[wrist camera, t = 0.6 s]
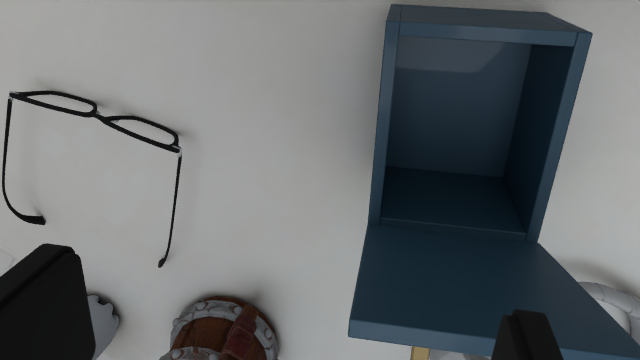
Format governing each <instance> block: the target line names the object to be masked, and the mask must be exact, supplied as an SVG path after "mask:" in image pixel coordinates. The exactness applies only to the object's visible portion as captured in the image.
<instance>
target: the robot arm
mask: <svg viewBox="0 0 640 360" xmlns="http://www.w3.org/2000/svg"><path fill="white" fill-rule="evenodd" d="M95 350H96V341H95V336H94V330H93V325H92V319H91V314H90V308H89V303H88V297H87V292H86V286H85V281H84V275H83V269H82V264H81V259H80V257H79V255H77V254H75V252H74V250H73V249H72V248H71V247H69V246H62V245H54V244H42V245H41V246H39V247H38V248H36V249H35V250H34V251H33V252H31V253H30V254H29V255H28V256H26V257H25V258H24V259H22V260H21V261H20V262H19V263H17V264H16V265H15V266H14V267H12V268H11V269H10V270H9V271H7V272H6V273H5V274H3V275H2V276H1V277H0V360H92V358H93V356H94V354H95ZM491 360H564V359H563V356H562V354H561V351H560V349H559V346H558V344H557V341H556V339H555V336H554V333H553V331H552V328H551V326H550V323H549V321H548V318H547V316H546V314H544V313H542V312H535V311H528V310H521V309H514V310H513V312H512V314H511V315H503V317H502V319H501V323H500V326H499V330H498V334H497V338H496V342H495V345H494V349H493V353H492V357H491Z"/></svg>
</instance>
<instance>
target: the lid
mask: <svg viewBox="0 0 640 360" xmlns="http://www.w3.org/2000/svg"><path fill="white" fill-rule="evenodd" d="M514 309H521V310H528V311H535V312H542V313H544V314H546V316H547V318H548V321H549V323H550V326H551V328H552V331H553V333H554V336H555V339H556V341H557V344H558V346H559V349H560V351H561V354H562V356H563V359H564V360H640V345H639V344H638V343H637V342H636V341H635V340H634V339H633V338H632V337H631V336H630V335H629V334H628V333H627V332H626V331H625V330H624V329H623V328H622V327H621V326H620V325H619V324H618V323H617V322H616V321H615V320H614V319H613V318H612V317H611V316H610V315H609V314H608V313H607V312H606V311H605V310H604V309H603V308H602V307H601V306H600V304H599V303H598V302H597V301H596V300H595V299H594V298H593V297H592V296H591V295H590V294H589V293H588V292H587V291H586V290H585V289H584V288H583V287H582V286H581V285H580V284H579V283H578V282H577V281H576V280H575V279H574V278H573V277H572V276H571V275H570V274H569V273H568V272H567V271H566V270H565V269H564V268H563V267H562V266H561V265H560V264H559V263H558V262H557V261H556V260H555V259H554V258H553V257H552V256H551V255H550V254H549V253H548V252H547V251H546V250H545V249H544V248H543V247H542V246H541V245H540V244H539V243H530V242H521V241H512V240H503V239H494V238H485V237H477V236H468V235H459V234H450V233H441V232H432V231H423V230H414V229H405V228H397V227H388V226H379V225H370V224H368V225H367V230H366V235H365V241H364V246H363V251H362V256H361V262H360V267H359V272H358V277H357V283H356V288H355V293H354V298H353V304H352V309H351V314H350V319H349V329H348V337H352V338H359V339H366V340H373V341H380V342H387V343H394V344H401V345H408V346H412V351H411V359H410V360H428V359H429V351H430V349H437V350H444V351H451V352H458V353H465V354H472V355H479V356H486V357H492V353H493V349H494V345H495V342H496V338H497V334H498V330H499V326H500V323H501V319H502V317H503V315H511V314H512V312H513V310H514Z"/></svg>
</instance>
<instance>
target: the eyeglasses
mask: <svg viewBox="0 0 640 360" xmlns="http://www.w3.org/2000/svg"><path fill="white" fill-rule="evenodd" d="M49 94H51V95H58V96H63V97H67V98H71V99H75V100H78V101H82V102H85V103H88V104H90V105H92V106H93V110H92V111H90V112H79V111H75V110H70V109H66V108H62V107H58V106H54V105H50V104H46V103H43V102H40V101H36V100H33V99H30V98H27V97H28V96H34V95H49ZM13 98H15V99H18V100H21V101H24V102H28V103H31V104H34V105H38V106H41V107H45V108H49V109H52V110H56V111H61V112H65V113H69V114H73V115H77V116H82V117H95V118H97V119H99V120H100V121H102V122H103V123H104V124H106V125H108V126H110V127H112V128H114V129H116V130H118V131H120V132H123V133H125V134H127V135H129V136H131V137H134V138H136V139H139V140H141V141H144V142H147V143H149V144H152V145H154V146H157V147H160V148H163V149H166V150H169V151H171V152H174V153H179V152H180V154H179V155H178V157H179V158H178V167H177V176H176V186H175V195H174V204H173V212H172V221H171V229H170V237H169V242H168V248H167V251H166V255H165V258H164V259H161V260H160V261H159V263H158V267H159V268H160V267H162V266H163V264H164V263H165V261H166V258H167V256H168V252H169V248H170V243H171V237H172V230H173V223H174V215H175V207H176V199H177V191H178V183H179V175H180V167H181V159H182V149H181V147H179V146H178V142H179V139H178V135H177V133H175V132H174V131H172V130H170V129H168V128H166V127H163V126H161V125H159V124H156V123H154V122H151V121H149V120H146V119H143V118H139V117H135V116H109V117H104V116H101V115H100V112H99V111H97V105H96V104H95V103H94V102H92V101H89V100H86V99H83V98H80V97H77V96H73V95H69V94H65V93H61V92H56V91H32V92H13V91H10V93H9V96H8V106H7V118H6V129H5V142H4V155H3V170H2V190H3V195H4V198H5V201H6V203H7V205H8V207H9V209H10V210H11V211H12V212H13V213H14V214H15V215H16V216H17V217H19V218H20V219H22V220H23V221H25V222H28V223H32V224H39V225H45V221H44V219H43V217H41V216H26V215H22V214H20V213H18V212H17V211H16V210H15V209H14V208H13V207H12V206H11V205H10V203H9V201H8V199H7V196H6V193H5V165H6V154H7V145H8V136H9V126H10V117H11V108H12V100H13ZM119 120H137V121H141V122H144V123H147V124H150V125H152V126H155V127H157V128H160V129H162V130H164V131H166V132H168V133H170V134H172V135H173V136H174V139H175V140H174V142H173V143H172V144H170V145H167V144H163V143H160V142H157V141H154V140H151V139H149V138H146V137H143V136H141V135H138V134H136V133H133V132H131V131H129V130H126V129H124V128H122V127H120V126H118V125H116V124H114V123H116V122H118V121H119ZM112 122H114V123H112Z"/></svg>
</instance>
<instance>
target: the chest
mask: <svg viewBox="0 0 640 360" xmlns="http://www.w3.org/2000/svg"><path fill="white" fill-rule="evenodd" d="M592 35H593V34H592V33H591V32H589V31H586V30H584V29H582V28H580V27H577V26H575V25H573V24H571V23H568V22H566V21H564V20H562V19H559V18H557V17H555V16H553V15H550V14H549V13H543V12H525V11H506V10H488V9H470V8H452V7H433V6H415V5H397V4H391V7H390V10H389V14H388V17H387V20H386V28H385V39H384V50H383V61H382V72H381V83H380V94H379V105H378V116H377V127H376V138H375V150H374V161H373V172H372V183H371V194H370V205H369V216H368V224H370V225H379V226H388V227H397V228H405V229H414V230H423V231H432V232H441V233H450V234H459V235H468V236H477V237H485V238H494V239H503V240H512V241H521V242H530V243H537V242H538V238H539V234H540V230H541V227H542V223H543V219H544V215H545V212H546V208H547V204H548V200H549V197H550V193H551V189H552V185H553V182H554V178H555V174H556V170H557V167H558V163H559V159H560V155H561V151H562V148H563V144H564V140H565V136H566V133H567V129H568V125H569V121H570V118H571V114H572V110H573V106H574V103H575V99H576V95H577V91H578V88H579V84H580V80H581V76H582V73H583V69H584V65H585V61H586V57H587V54H588V50H589V46H590V42H591V39H592Z"/></svg>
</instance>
